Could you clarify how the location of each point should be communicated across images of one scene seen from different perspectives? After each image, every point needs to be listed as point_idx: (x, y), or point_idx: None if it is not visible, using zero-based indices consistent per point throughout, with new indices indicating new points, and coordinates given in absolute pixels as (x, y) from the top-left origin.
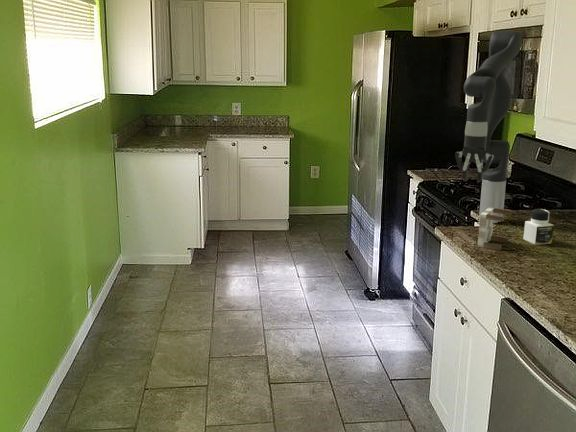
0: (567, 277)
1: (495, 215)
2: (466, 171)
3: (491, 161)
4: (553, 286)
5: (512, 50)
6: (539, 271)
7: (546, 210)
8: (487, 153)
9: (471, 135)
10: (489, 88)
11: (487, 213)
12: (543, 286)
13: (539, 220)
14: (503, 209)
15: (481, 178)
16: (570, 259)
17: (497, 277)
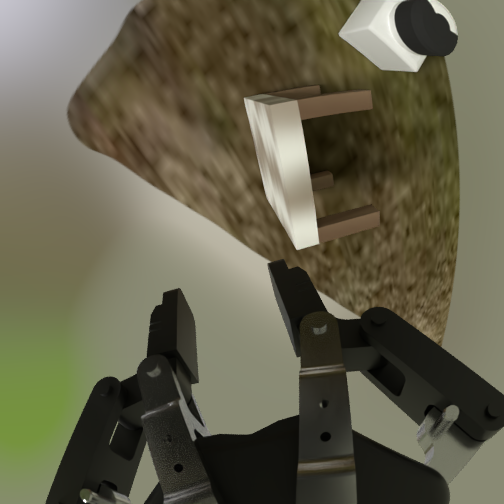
0: (454, 241)
1: (349, 223)
2: (198, 382)
3: (458, 376)
4: (436, 288)
5: None
6: (420, 249)
7: (452, 21)
8: (453, 478)
9: None
10: None
11: (314, 220)
12: (425, 298)
13: (427, 55)
14: (341, 102)
15: (305, 283)
16: (456, 138)
17: None
